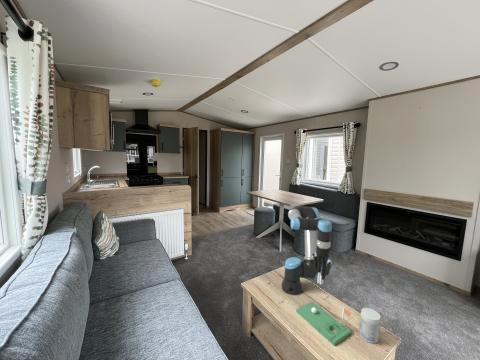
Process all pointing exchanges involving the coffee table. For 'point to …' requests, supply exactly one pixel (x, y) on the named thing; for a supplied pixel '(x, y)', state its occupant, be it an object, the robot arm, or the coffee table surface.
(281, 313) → the coffee table surface
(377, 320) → the supplement tub
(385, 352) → the coffee table surface
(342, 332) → the putting strip
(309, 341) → the coffee table surface
